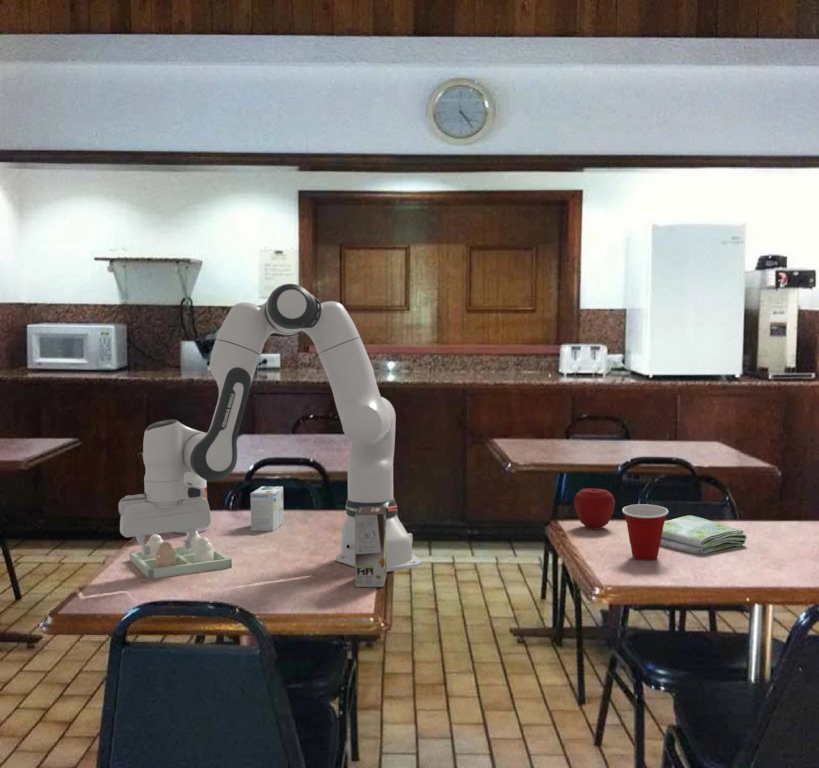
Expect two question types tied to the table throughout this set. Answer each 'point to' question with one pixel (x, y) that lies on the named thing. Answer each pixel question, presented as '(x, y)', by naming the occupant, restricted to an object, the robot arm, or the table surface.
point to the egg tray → (179, 564)
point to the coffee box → (370, 546)
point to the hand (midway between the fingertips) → (167, 551)
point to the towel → (699, 535)
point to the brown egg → (165, 555)
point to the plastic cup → (645, 529)
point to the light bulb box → (266, 508)
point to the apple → (594, 507)
